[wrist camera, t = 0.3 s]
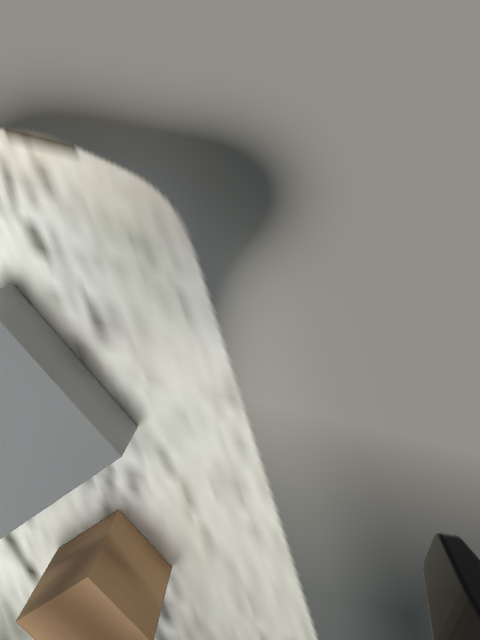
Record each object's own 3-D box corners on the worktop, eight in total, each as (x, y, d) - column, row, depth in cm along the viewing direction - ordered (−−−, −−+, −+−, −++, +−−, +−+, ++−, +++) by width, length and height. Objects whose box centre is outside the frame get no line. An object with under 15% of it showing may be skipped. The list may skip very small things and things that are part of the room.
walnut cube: (111, 601, 29) (81, 683, 24) (58, 547, 28) (15, 621, 23) (172, 565, 28) (152, 643, 23) (119, 508, 27) (87, 576, 22)
